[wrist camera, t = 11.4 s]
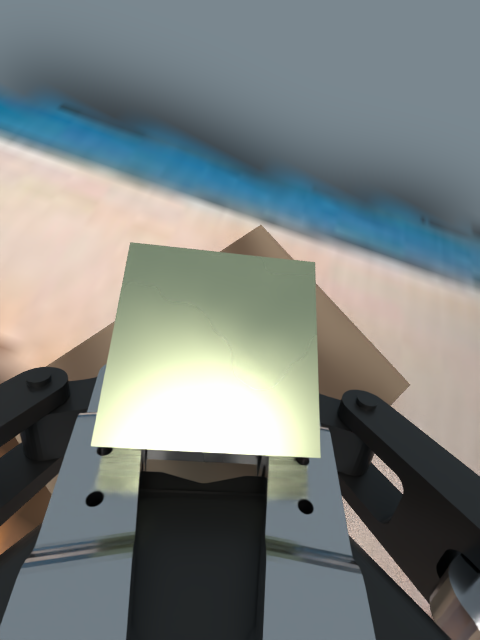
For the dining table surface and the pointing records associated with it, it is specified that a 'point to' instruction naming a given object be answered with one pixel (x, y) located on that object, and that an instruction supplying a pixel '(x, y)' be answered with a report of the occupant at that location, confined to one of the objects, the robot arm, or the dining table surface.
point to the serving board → (333, 364)
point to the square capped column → (212, 358)
